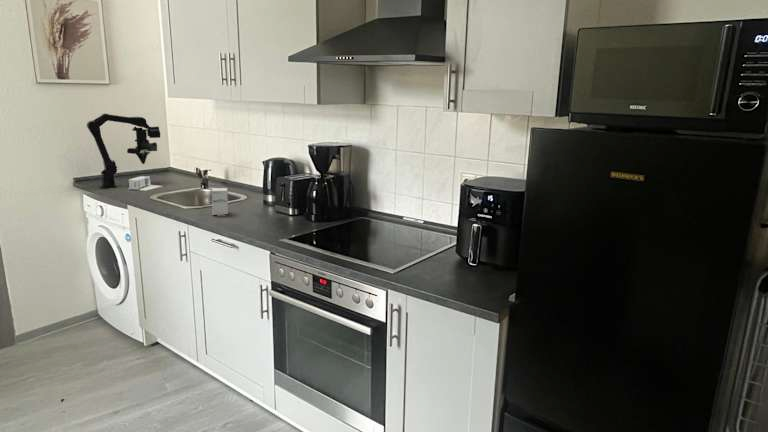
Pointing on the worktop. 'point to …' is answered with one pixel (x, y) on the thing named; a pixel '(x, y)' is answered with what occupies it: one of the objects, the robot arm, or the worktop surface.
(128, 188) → the mat
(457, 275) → the worktop surface
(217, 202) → the supplement box
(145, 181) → the syrup box
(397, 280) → the worktop surface
